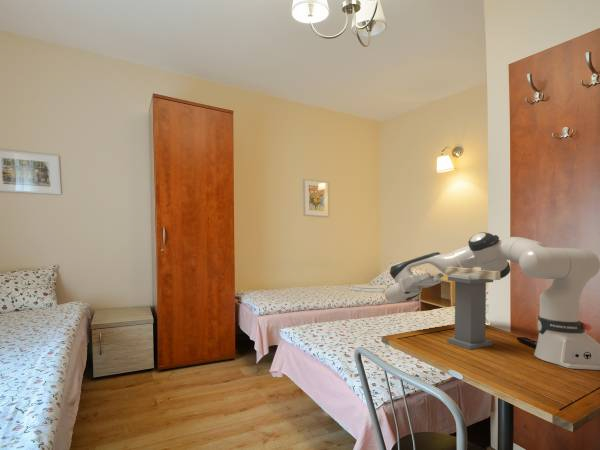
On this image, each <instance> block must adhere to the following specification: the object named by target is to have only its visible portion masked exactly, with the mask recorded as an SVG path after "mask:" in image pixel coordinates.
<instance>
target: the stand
mask: <svg viewBox="0 0 600 450" xmlns="http://www.w3.org/2000/svg"><path fill="white" fill-rule="evenodd" d="M447 281H450V282H454V336H453V337H447V338H446V343H449V344H452V345H455V346H456V347H457V346H458V347H461V348H463V349H466V350H476V349H480V348H484V347H489V346H493V345H494V341H493V340H490V339H487V338H486V333H487V332H486V326H487V325H486V323H487V320H486V318H487V317H486V316H487V315H486V314H487V307H486V305H487V304H486V303H487V299H486V298H487V294H486V293H487V283H494V280H491V279H484V278H481V275H473V274H465V273H461V275H459V274H450V276H447Z"/></svg>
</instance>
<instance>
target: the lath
mask: <svg viewBox="0 0 600 450" xmlns="http://www.w3.org/2000/svg"><path fill="white" fill-rule="evenodd" d="M461 273H465V274H473V275H481V278H484V279H491V280H493V281H500V280H501V279H500V272H498V271H488V270H481V269H480V268H479V269H478V268H476V269H475V268H472V269H469V268H460V267H445V274H444V275H446V274H459V275H461Z"/></svg>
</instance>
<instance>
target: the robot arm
mask: <svg viewBox="0 0 600 450" xmlns="http://www.w3.org/2000/svg"><path fill="white" fill-rule="evenodd" d="M467 243H468V245H466V246H464V247H460V248H458V249H455V250H453V251H451V252H448V253H440V252H439V251H437V252H435V251H434V252H431V253H429V254H424V255H422V256H418V257H415V258H413V259H409V260H407V261H400V262H397V263H394V264H393V265H392V266H391V267H390V269H389V275H390V276H391V278H392V279H393V280H394V282H395V283H394V284H392V285H390V286H389V287H388V288H386V289H385V290H384V296H385V298H386V299H387V302H389V303H390V304H398V303H401V302H403V301H407V302H408V301H410V300H412V299H414V298H417V297H418V296H420V294H421V293H422V290H423V288H430V287H434V286H435V285H438V284H440V283H441V282H442V280H441V279H442V278H444V276H445V275H446V276H447V277H450V274H445V267H460V268H469V269H475V268H479V269H480V268H481V269H480V270H488V271H498V272H500V280H501V279H504V278H505V277H507V276H508V275H509V274H510V273H511V265H510V263H509V261H511V262H513V263H514V264H517V265H518V266H519V268H520V270H521V272H522V273H523V274H524V275H526V276H527V277H532V278H535V279H541V280H543V279H544V280H553V281H552V284H551V285H550V286H549V287H548V288H547V289H545V290H544V291H542V292H541V293H540V295H539V315H538V318H537V331H538V336H537V337H538V338H537V343H536V346H535V350H534V352H533V356H534V357H536V358H537V359H540V360H542V361H545V362H548V363H551V364H554V365H559V366H561V367H564V368H567V369H572V370H573V369H574V370H575V369H576V370H591V371H600V342H598V341H597V340H596V339H595V338H593V337H592V336H590V334H588V333H586V331H587V332H588V331H591V330H592V329H593V327H592V326H591V324H588V323H584V322H583V321H580V320H579V314H580V313H579V312H580V299H581V295H582V292H583V290H584V288H585V287H586V285H587V284H588V283H589V281H590V280H591V279H592V278H594V277H596V276H597V275H598V273H599V272H600V259H599V256H597V254H596V252H594V251H591V250H586V249H582V248H577V247H576V248H575V247H550V246H549V247H548V246H547V245H546V244H545V243H543V242H541V241H537V240H535V239H530V238H526V237H521V236H510V237H506V238H504V239H500V237H499V236H498V235H497V234H493V233H489V232H485V231H483V232H478V233H476V234H474V235H472V236H471V237H470V238H469V239H468V242H467ZM425 264H429V265H432V266H434V267H435V268H437V270H438V271H440V272H439V273H437V274H431V273H429V272H426V273H424V274H421V275H420V274H419V275H418V274H417V275H415V274H414V273H413V270H412V268H415V267H419V266H422V265H425Z"/></svg>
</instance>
